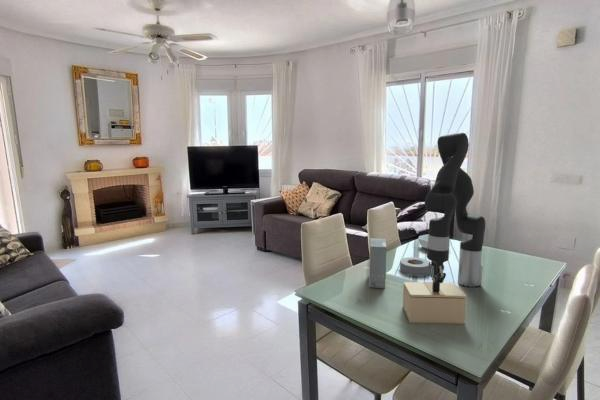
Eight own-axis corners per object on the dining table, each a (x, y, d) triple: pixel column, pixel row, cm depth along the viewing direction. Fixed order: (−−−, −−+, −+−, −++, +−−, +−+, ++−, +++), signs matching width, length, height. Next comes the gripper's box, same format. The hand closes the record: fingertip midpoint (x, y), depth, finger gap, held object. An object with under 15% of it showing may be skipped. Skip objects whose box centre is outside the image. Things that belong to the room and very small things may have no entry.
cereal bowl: (420, 252, 209) (421, 241, 208) (416, 244, 225) (416, 234, 224) (450, 253, 206) (450, 242, 205) (443, 245, 222) (444, 235, 221)
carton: (453, 308, 138) (454, 285, 136) (464, 324, 126) (466, 298, 125) (402, 307, 140) (403, 284, 138) (409, 322, 128) (410, 297, 126)
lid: (454, 285, 136) (454, 282, 136) (466, 297, 124) (466, 295, 124) (403, 284, 138) (403, 281, 138) (410, 296, 126) (410, 294, 126)
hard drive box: (385, 288, 158) (386, 247, 154) (368, 287, 159) (369, 246, 156) (384, 276, 173) (385, 238, 169) (368, 275, 174) (369, 237, 171)
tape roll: (398, 274, 176) (398, 264, 175) (401, 264, 190) (401, 255, 189) (430, 278, 170) (430, 268, 169) (430, 267, 184) (431, 258, 183)
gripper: (455, 252, 118) (452, 299, 121) (442, 241, 131) (440, 284, 134) (433, 252, 119) (430, 298, 122) (422, 241, 132) (420, 283, 135)
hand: (435, 291), depth 128 cm, fingers closed
